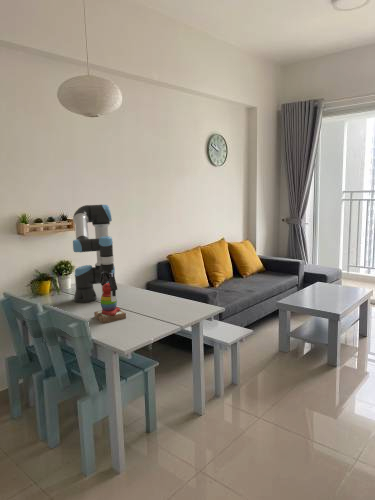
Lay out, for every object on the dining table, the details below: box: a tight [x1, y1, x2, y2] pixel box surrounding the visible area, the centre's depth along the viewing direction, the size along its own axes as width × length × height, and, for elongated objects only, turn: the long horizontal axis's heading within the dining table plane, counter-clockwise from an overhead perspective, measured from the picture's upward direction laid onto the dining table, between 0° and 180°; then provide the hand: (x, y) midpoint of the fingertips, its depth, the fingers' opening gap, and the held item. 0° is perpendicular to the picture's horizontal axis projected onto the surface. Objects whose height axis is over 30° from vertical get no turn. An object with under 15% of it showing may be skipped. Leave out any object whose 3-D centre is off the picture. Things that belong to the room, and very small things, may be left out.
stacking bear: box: [100, 282, 121, 316], centre depth 226 cm, size 11×10×18 cm
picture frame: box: [94, 309, 127, 324], centre depth 228 cm, size 14×14×3 cm
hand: (109, 298), depth 226 cm, fingers open, 13 cm apart
